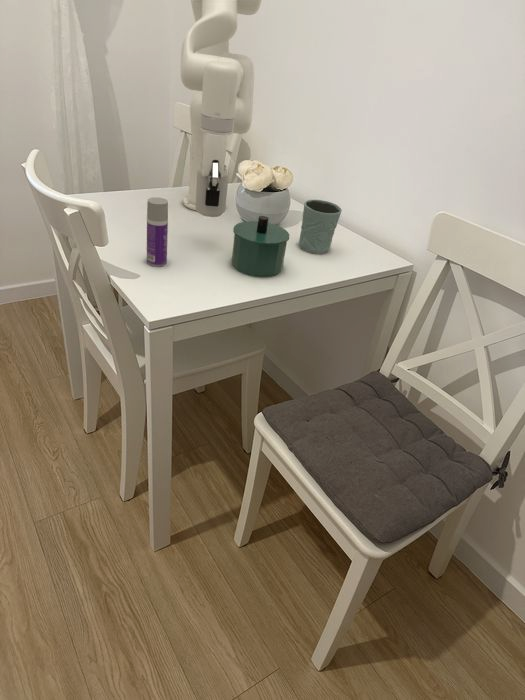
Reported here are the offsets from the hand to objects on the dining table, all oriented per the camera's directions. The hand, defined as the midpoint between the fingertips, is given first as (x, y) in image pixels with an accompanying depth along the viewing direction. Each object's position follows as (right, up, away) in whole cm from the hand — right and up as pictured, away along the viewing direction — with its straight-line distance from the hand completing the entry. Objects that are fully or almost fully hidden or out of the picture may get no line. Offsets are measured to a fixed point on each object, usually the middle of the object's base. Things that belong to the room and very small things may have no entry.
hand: (211, 199), depth 126 cm
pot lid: (+12, -9, -3) cm, 16 cm away
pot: (+11, -16, +1) cm, 20 cm away
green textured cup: (+27, -9, +16) cm, 33 cm away
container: (-13, -17, -5) cm, 21 cm away
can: (-1, -3, +2) cm, 4 cm away
